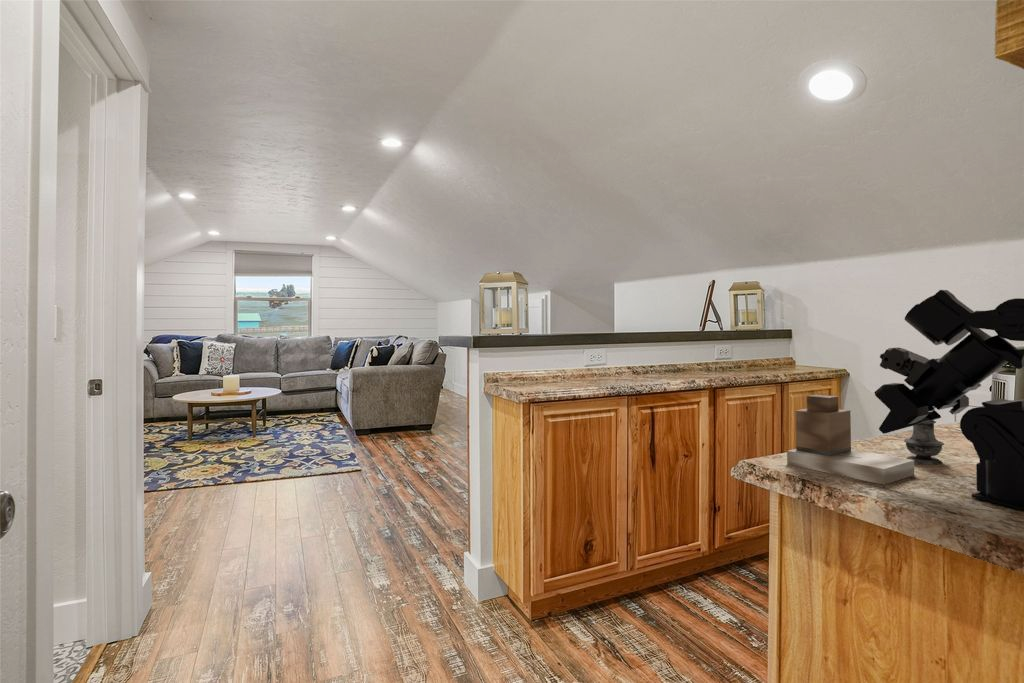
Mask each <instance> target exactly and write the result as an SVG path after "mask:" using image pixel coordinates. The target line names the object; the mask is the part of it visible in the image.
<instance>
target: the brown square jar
mask: <svg viewBox="0 0 1024 683" xmlns="http://www.w3.org/2000/svg"><path fill="white" fill-rule="evenodd" d="M839 406H840V405H839V396H836V395H825V394H811V395H806V408H802V409H796V410H794V411H795V446H796V447H795V449H796V451H802V452H807V453H813V454H819V455H824V456H834V455H838V454H842V453H846V452H850V451H851V450H852V435H851V434H852V432H851V430H852V426H851V421H852V420H851V418H852V417H851V410H849V409H840V408H839Z"/></svg>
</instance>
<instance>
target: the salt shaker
mask: <svg viewBox="0 0 1024 683" xmlns="http://www.w3.org/2000/svg"><path fill="white" fill-rule="evenodd" d="M936 423H937V421H936V420H932V421H928V422H925V423H921V424H918V425H914V426H912V434H911V436H910V437H909V438H905V439H904V440H903V442H904V443H905V447H906V448H907V451H909V452H910V453H911V454H913V455H910V456H908V457H907V456H906V458H905V459H911V460H914V464H915V463H916V464H923V465H934V466H935V465H942V464H943V461H942V460H940V459H939V458H937V457H935V456H937V455H939V454H940V453H941V452H942V449H943V446H944V445H945V443H944V442H943V441H940V440H938V439H937V438H936V436H935V424H936Z"/></svg>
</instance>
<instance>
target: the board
mask: <svg viewBox="0 0 1024 683" xmlns="http://www.w3.org/2000/svg"><path fill="white" fill-rule="evenodd" d="M786 463H787V464H786V465H788V466H789V465H790V466H793V467H798V468H803V469H808V470H813V471H818V472H822V473H827V474H832V475H836V476H840V475H841V476H842V477H845V476H846V477H845V478H850V479H856V480H860V481H865V482H869V483H874V484H879V485H884V486H885V485H888V484H891V483H895V482H897V481H900V480H903V479H907V478H909V477H913V476H915V463H914V460H911V459H906V458H904V457H898V456H892V455H888V454H887V455H886V454H880V453H876V452H875V453H873V452H869V451H861V450H858V449H857V450H856V449H851V451H850V452H846V453H842V454H838V455H834V456H824V455H819V454H813V453H807V452H802V451H796V448H793V449H789V450H786ZM841 476H840V477H841Z"/></svg>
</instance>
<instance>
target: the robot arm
mask: <svg viewBox="0 0 1024 683" xmlns="http://www.w3.org/2000/svg"><path fill="white" fill-rule="evenodd" d="M904 321H905V322H907V323H908V324H909V325H910V326H911V327H913V329H915V330H916V331H917V332H918V333H920V334H921V335H922V336H924V337H925V338H926V339H927V340H928V341H930V342H931V343H932V344H933V345H935V346H939V345H942V344H945V345H946V346H952V345H954V344H956V343H957V342H958V343H957V344H956V345H954V346H953V347H952V348H951V349H950V350H949V351H947V352H945V354H943V355H942V356H941V357H940V358H931V359H929V358H928V357H925V356H922V355H920V354H918V353H915V352H913V351H910V350H908V349H905V348H902V347H889V348H887V349H885V351H884V352H883V353H881V354H880V355H879V358H880V360H881V362H880V363H879V367H881V368H883V370H890V371H892V372H894V373H897V374H900V375H901V376H903V377H906V378H904V379H903V381H904V382H905V383H906V384H907V385H909V386H907V385H906V384H905V383H900V382H891V383H886V384H882V385H881V386H880V387H878V388H877V389H876V390H875V391H874V392H873V393H874V396H875V397H876V398H877V399H878V400H879V401H880V402H881V403H882V404H883V405H884V406H886V407H887V409H888V410H889V412H888V413H887V414H886V416H885V418H884V420H883V421H882V423H881V424H880V426H879V427H878V429H879V431H880V432H881V433H882V434H884V435H885V434H888V433H892V432H895V431H896V432H897V431H900V430H903V429H906V428H910V427H913V426H914V425H918V424H921V423H925V422H928V421H932V420H934V421H936V420H940V419H941V418H942V416H941V414H939V413H938V411H939V410H944V409H949V408H951V409H950V410H949V411H948V413H950V414H951V415H956V414H960V413H961V412H962V411H964V410H966V409H967V408H968V407H969V406H970V397H968V396H967V395H966V394H967V393H969V392H972V391H976V390H978V388H980V387H981V386H982V384H981V383H982V382H983V381H985V380H986V379H987V378H989V377H990V376H992V375H993V374H995V373H996V372H997V371H998V370H999V369H1001V368H1002V367H1003V366H1005V365H1006V364H1008V363H1009V364H1010V365H1012V366H1013V368H1015V369H1017V370H1022V369H1024V348H1023V349H1022V348H1017V347H1016V346H1014V345H1013V344H1012V343H1011V342H1009V341H1012V342H1014V341H1015V342H1024V298H1021V297H1020V298H1017V297H1016V298H1011V299H1007V300H1005V301H1003V302H1001V303H1000V304H998V305H997V306H996V307H995V308H994V309H987V310H973V309H971V308H970V307H969V306H967V305H966V304H964V303H963V302H962V301H961V300H959V299H958V298H957V297H956V296H955V295H954V294H953V293H952V292H950V291H949V290H947V289H939V290H938V291H937V292H936V293H935V294H933V295H931V296H929V297H927V298H925V299H924V300H922V301H921V302H920V303H916V304H915V305H914V306H912V307H911V309H910V310H908V312H907V313H906V314H905V316H904ZM983 330H989V331H990V330H991V331H994V332H995V333H996V334H997V335H993V336H991V335H990V334H988V333H986V332H985V331H983ZM960 340H961V341H960ZM1008 340H1009V341H1008ZM909 387H912V388H909ZM981 405H982V406H977V407H974V408H973V407H972V408H970V409H968V410H966V411H965V413H964V414H962V416H961V418H960V422H959V425H960V426H959V429H960V431H961V434H962V435H963V436H964V438H965V439H966V440H967V441H969V442H971V443H972V446H973V448H974V450H975V452H976V454H977V457H978V458H979V462H977V463H976V468H975V469H976V472H975V473H976V476H975V478H976V482H975V483H976V491H977V492H973V493H971V497H972V498H975V499H978V500H982V501H985V502H990V503H994V504H997V505H1001V506H1004V507H1009V508H1013V509H1017V510H1020V511H1024V399H1018V400H1017V399H1016V400H1015V399H1014V400H1013V399H1012V400H1010V399H1004V398H996V399H991V400H986V401H983V402H981ZM936 409H937V410H938V411H937V410H936Z"/></svg>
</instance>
